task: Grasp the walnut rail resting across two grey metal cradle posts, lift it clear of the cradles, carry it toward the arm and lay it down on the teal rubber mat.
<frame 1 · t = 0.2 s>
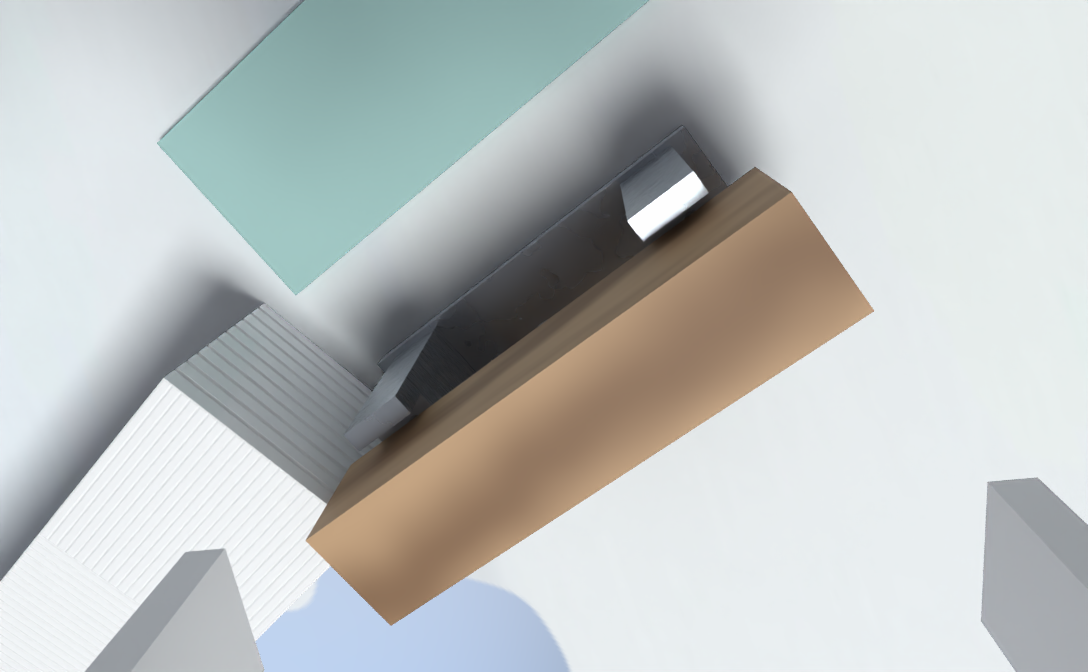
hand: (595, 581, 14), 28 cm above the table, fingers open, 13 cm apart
stack of papers: (189, 536, 48), on the table
rail: (571, 371, 34), point 8 cm above the table, touching standards
standards: (575, 314, 41), on the table
mat: (401, 68, 38), on the table
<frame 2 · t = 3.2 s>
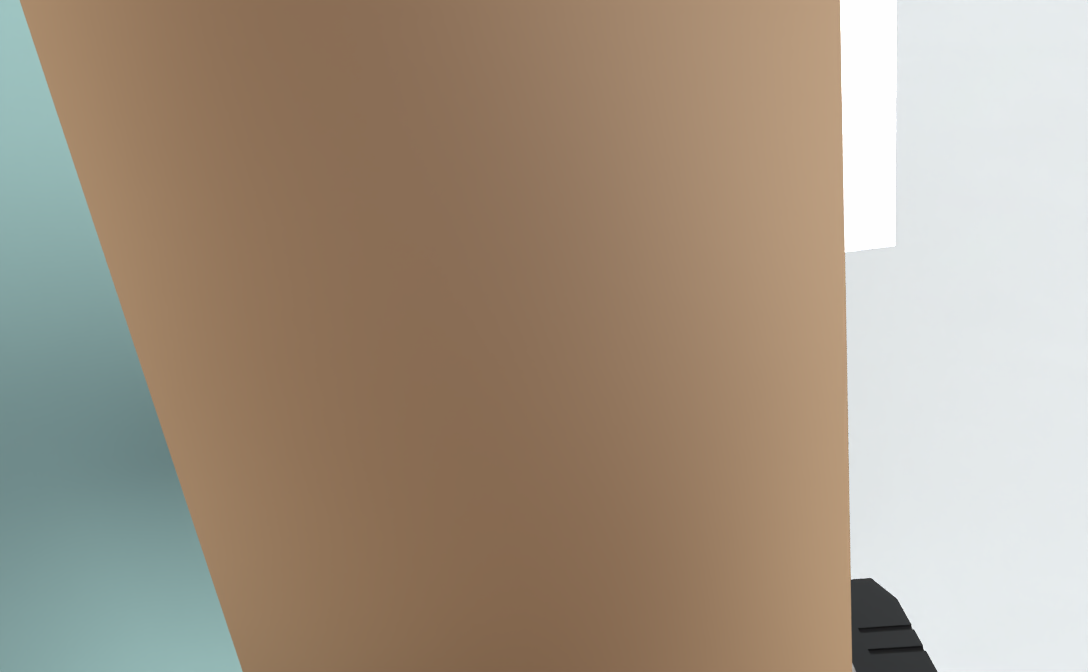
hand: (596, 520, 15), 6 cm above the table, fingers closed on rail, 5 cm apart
rail: (595, 593, 13), point 8 cm above the table, touching gripper, standards
standards: (597, 400, 21), on the table
mat: (67, 422, 22), on the table
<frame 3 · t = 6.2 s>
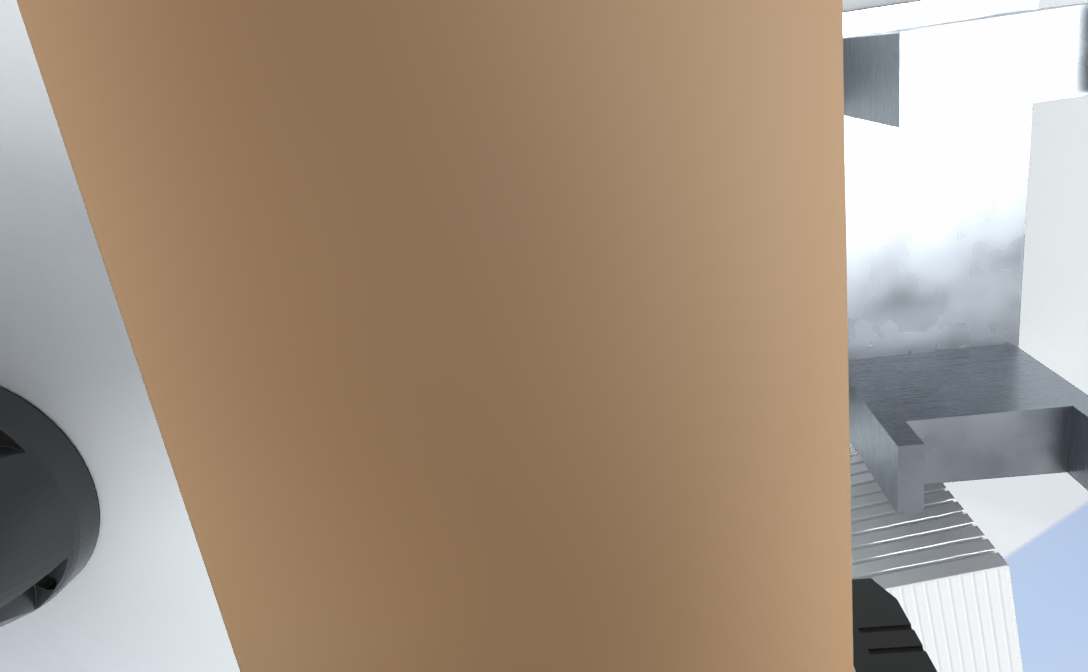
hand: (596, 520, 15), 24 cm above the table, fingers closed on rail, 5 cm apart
rail: (596, 594, 13), point 27 cm above the table, touching gripper
standards: (914, 227, 37), on the table
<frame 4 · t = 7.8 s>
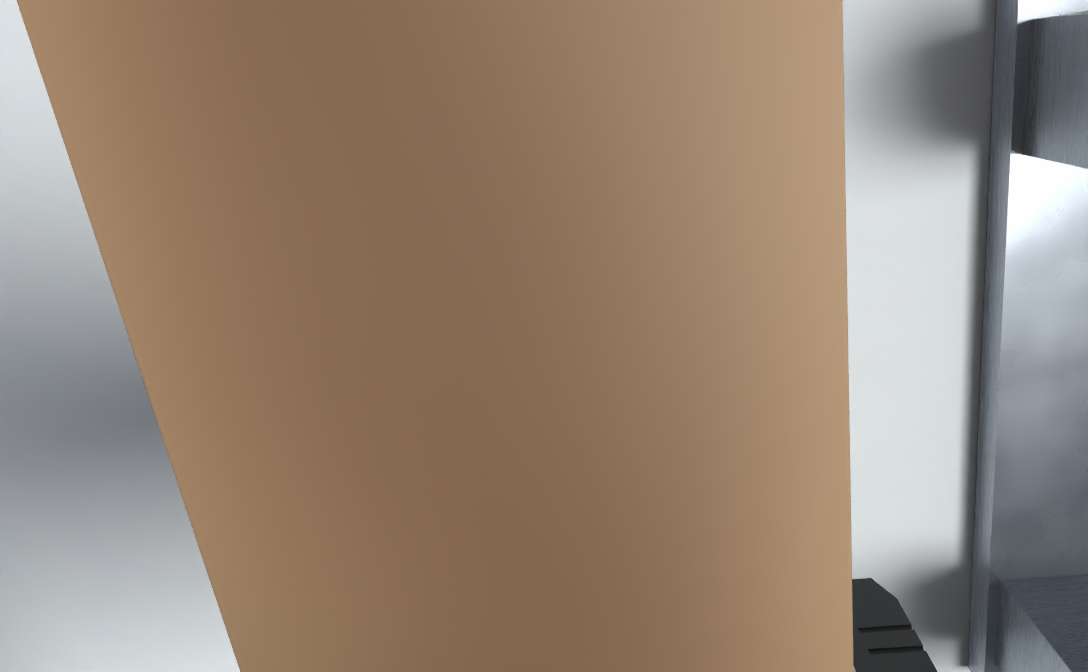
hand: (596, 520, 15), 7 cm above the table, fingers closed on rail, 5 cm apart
rail: (596, 594, 13), point 9 cm above the table, touching gripper
when the fingers open (1 cm above the table, at t = 9.2 s): rail drops 3 cm, resting on mat.
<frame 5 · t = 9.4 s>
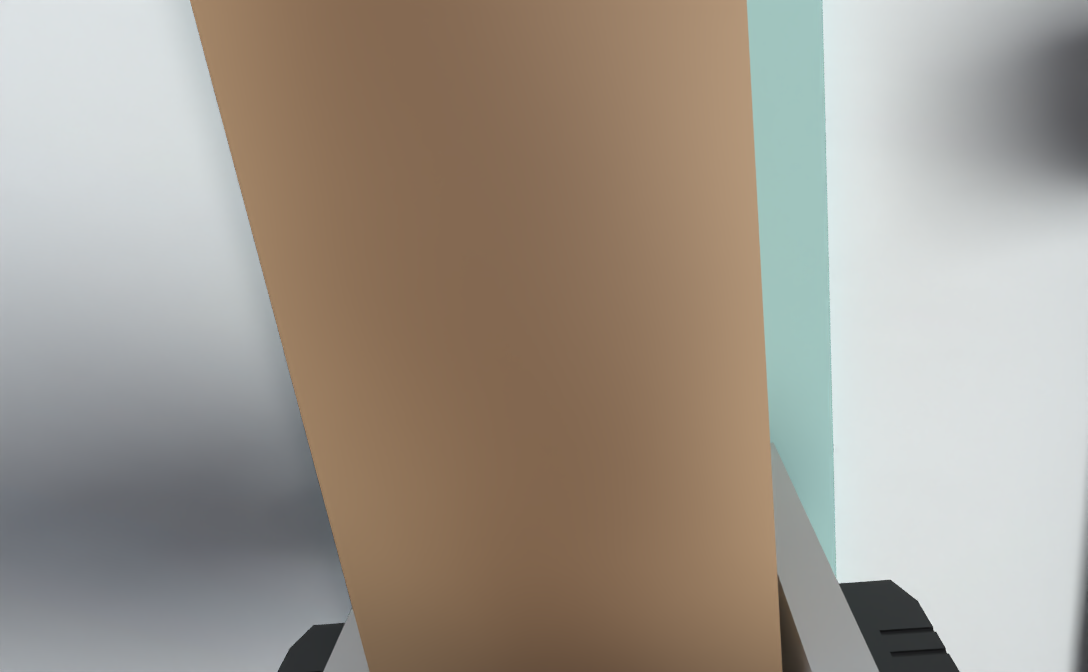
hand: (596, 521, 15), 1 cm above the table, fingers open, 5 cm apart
rail: (588, 514, 16), point 1 cm above the table, touching mat
mat: (579, 498, 16), on the table
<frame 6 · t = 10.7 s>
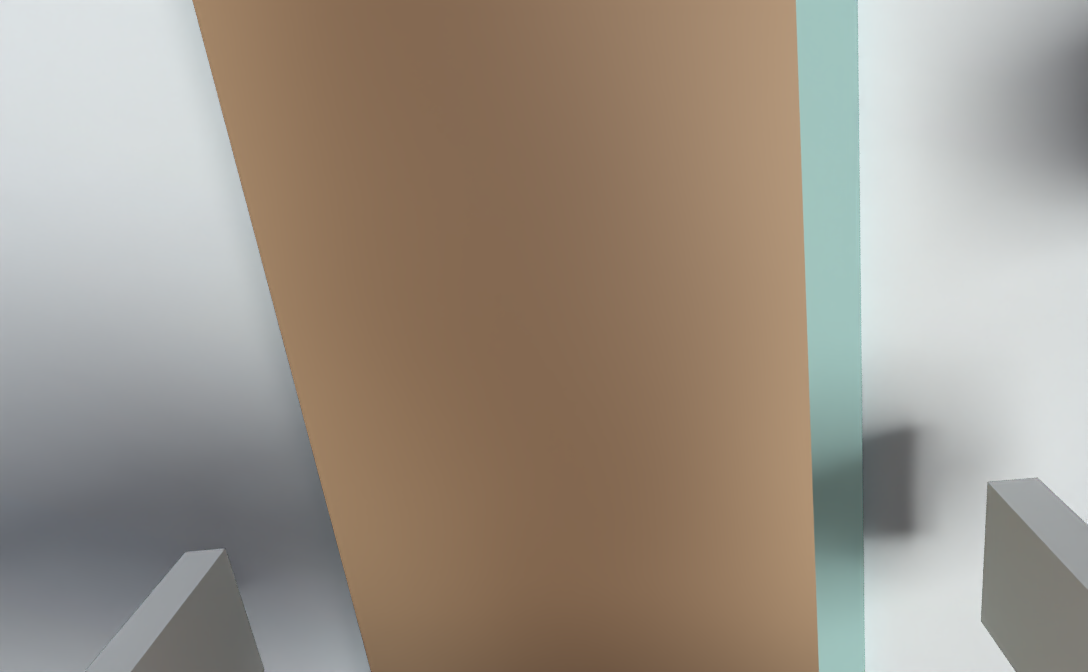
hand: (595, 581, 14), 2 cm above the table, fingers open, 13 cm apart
rail: (606, 529, 15), point 1 cm above the table, touching mat
mat: (596, 512, 16), on the table
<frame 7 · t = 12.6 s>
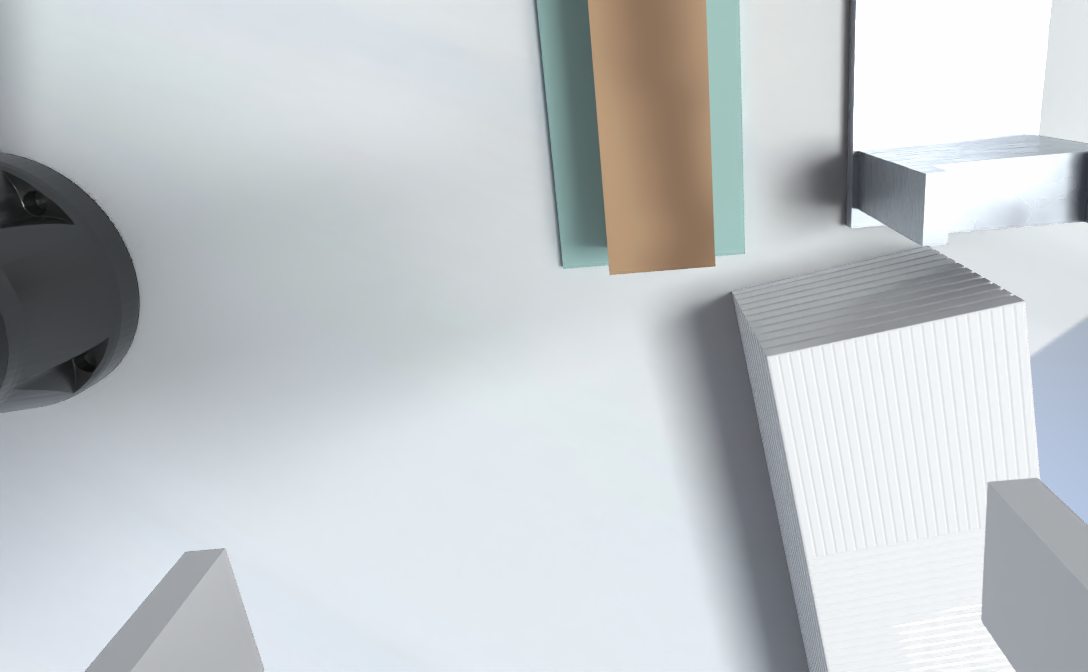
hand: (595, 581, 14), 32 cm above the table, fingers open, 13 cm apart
stack of papers: (865, 510, 48), on the table
rail: (642, 30, 39), point 1 cm above the table, touching mat
standards: (943, 17, 38), on the table
mat: (638, 30, 40), on the table
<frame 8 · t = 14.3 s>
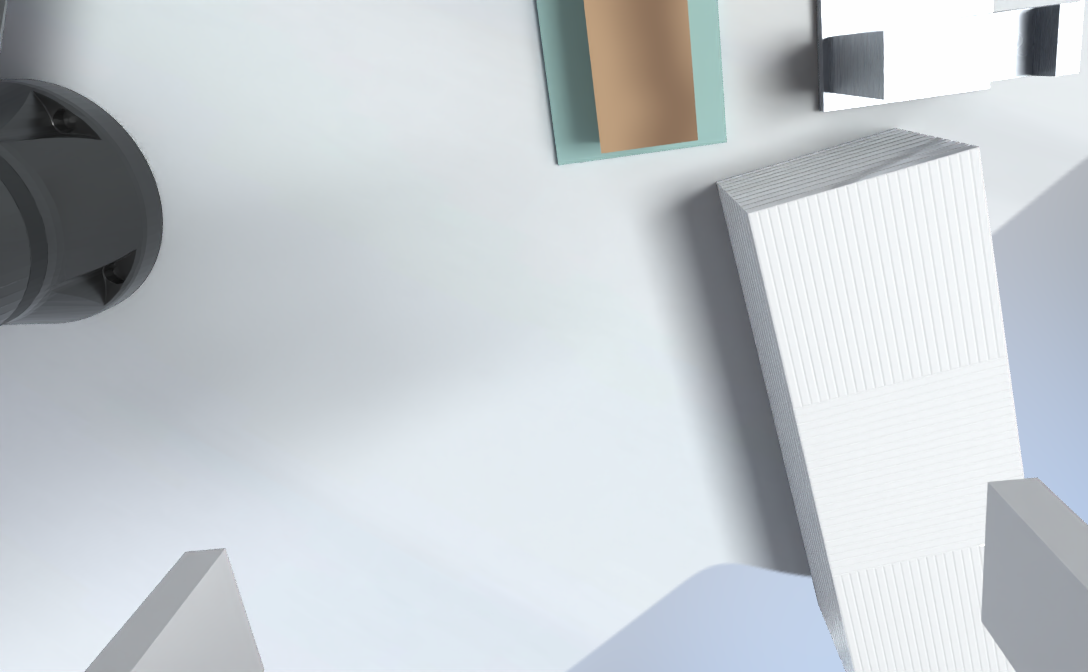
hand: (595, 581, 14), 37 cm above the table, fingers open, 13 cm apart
stack of papers: (851, 390, 51), on the table
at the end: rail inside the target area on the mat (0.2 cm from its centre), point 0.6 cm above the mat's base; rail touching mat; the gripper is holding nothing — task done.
